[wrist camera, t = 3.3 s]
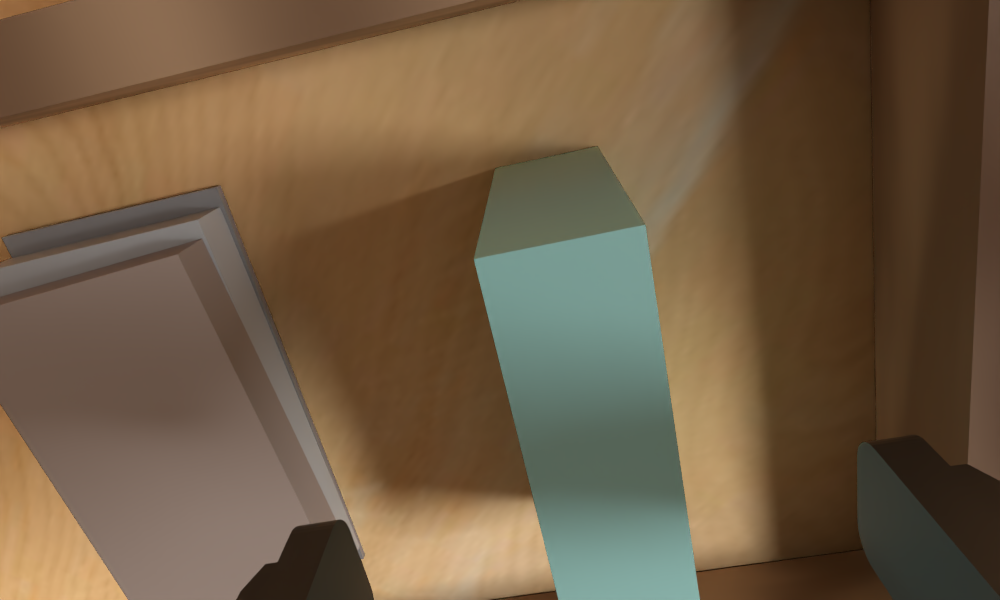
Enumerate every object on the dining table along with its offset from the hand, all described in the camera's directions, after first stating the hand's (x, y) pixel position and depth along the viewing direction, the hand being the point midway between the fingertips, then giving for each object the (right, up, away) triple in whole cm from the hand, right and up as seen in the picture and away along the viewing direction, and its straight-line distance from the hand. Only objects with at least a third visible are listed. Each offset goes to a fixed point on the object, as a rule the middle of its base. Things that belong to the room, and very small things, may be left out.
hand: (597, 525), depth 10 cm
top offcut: (-10, 0, +7) cm, 12 cm away
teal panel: (+1, +2, +7) cm, 8 cm away
